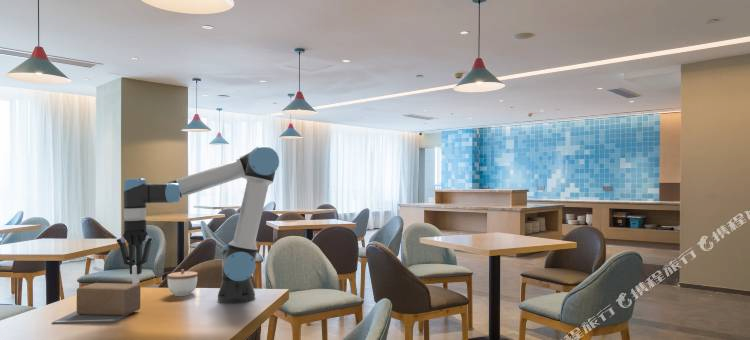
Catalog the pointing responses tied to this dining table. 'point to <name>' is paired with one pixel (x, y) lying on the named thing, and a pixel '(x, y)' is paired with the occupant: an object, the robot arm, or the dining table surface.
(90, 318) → the mat
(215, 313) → the dining table surface
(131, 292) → the wooden block
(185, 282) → the lidded bowl
